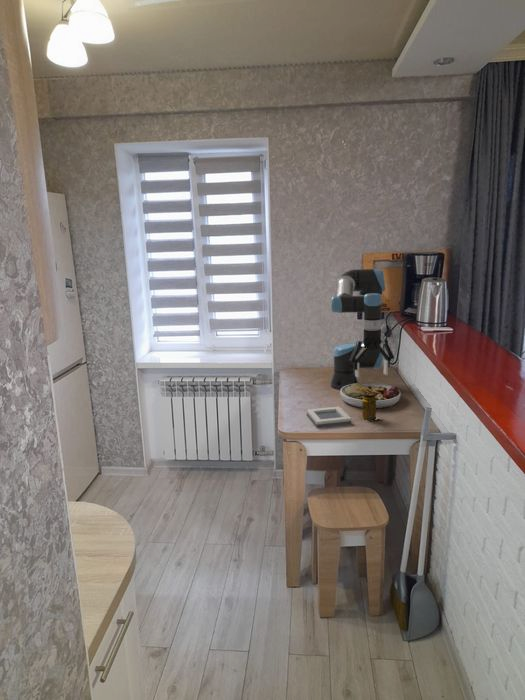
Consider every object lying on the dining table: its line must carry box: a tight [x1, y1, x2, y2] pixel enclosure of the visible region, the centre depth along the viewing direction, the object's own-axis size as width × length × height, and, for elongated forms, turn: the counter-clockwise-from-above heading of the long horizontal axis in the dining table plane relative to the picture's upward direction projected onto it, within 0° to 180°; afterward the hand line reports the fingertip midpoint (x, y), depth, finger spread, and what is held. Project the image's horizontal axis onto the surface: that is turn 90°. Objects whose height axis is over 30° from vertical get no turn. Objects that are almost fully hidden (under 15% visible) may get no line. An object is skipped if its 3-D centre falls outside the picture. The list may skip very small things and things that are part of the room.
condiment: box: [361, 392, 384, 423], centre depth 213 cm, size 7×8×12 cm
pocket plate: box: [306, 406, 352, 429], centre depth 215 cm, size 16×16×3 cm
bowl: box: [339, 382, 402, 409], centre depth 239 cm, size 30×30×8 cm
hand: (371, 375), depth 210 cm, fingers open, 13 cm apart
